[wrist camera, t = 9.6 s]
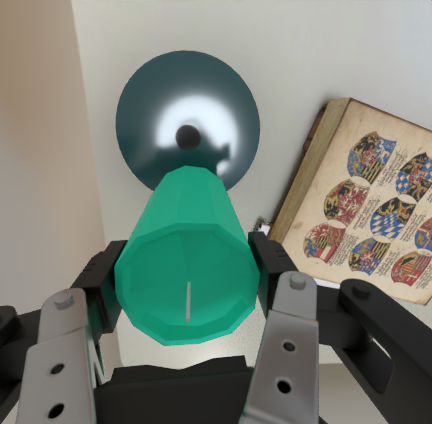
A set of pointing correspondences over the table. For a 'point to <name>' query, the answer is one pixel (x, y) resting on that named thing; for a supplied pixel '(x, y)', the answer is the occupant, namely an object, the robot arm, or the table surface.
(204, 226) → the candle
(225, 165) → the pot lid
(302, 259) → the book
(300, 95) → the table surface
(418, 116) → the table surface
